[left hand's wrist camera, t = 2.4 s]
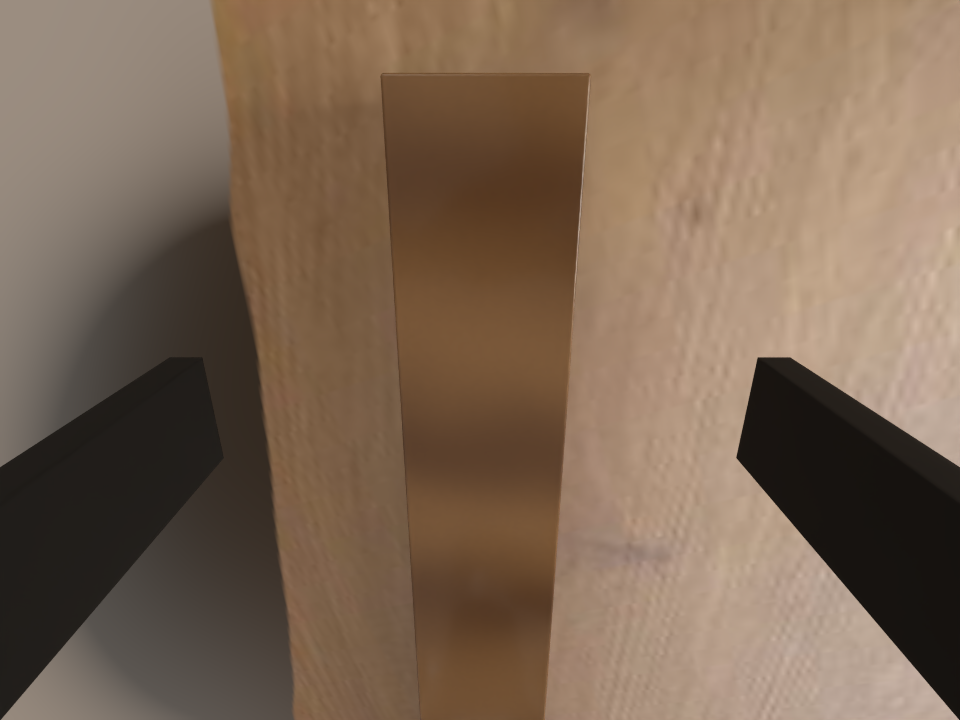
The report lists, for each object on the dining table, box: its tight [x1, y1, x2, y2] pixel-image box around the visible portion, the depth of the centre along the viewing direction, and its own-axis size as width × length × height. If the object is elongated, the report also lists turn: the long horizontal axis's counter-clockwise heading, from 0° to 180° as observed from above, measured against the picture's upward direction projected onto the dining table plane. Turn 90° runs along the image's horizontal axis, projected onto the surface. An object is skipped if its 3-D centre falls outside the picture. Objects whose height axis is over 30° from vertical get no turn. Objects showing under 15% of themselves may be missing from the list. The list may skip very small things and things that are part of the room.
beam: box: [381, 73, 591, 720], centre depth 28 cm, size 58×6×8 cm, turn 0°
